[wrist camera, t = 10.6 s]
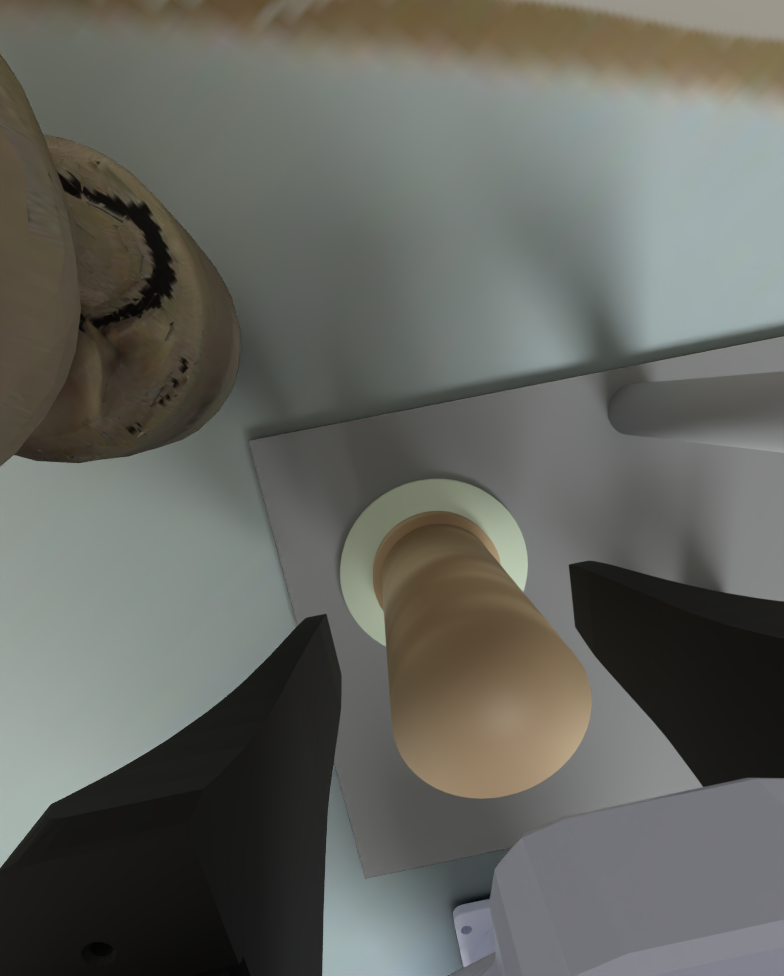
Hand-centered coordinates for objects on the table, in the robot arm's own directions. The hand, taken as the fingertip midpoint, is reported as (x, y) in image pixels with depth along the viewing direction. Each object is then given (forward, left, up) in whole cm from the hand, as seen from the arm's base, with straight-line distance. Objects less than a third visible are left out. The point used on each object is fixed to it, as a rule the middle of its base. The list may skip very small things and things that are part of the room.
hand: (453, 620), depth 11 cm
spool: (0, 0, -3) cm, 3 cm away
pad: (0, 0, -4) cm, 4 cm away
